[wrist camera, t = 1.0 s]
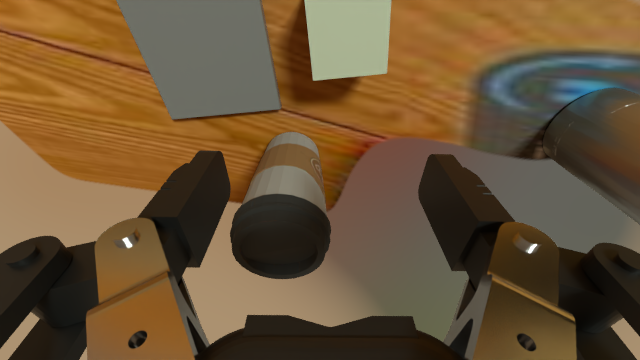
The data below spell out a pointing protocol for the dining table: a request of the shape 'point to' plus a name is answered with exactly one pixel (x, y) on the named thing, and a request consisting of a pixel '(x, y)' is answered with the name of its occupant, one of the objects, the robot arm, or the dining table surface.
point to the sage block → (348, 37)
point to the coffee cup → (283, 212)
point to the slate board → (206, 54)
